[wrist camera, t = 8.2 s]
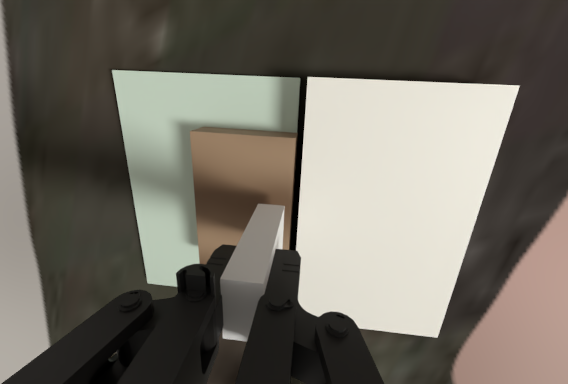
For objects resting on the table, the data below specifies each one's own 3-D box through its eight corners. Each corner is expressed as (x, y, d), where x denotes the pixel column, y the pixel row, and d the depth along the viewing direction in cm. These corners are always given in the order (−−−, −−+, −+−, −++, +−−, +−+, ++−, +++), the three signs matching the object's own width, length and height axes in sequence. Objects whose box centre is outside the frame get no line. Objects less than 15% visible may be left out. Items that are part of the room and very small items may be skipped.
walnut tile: (289, 257, 20) (287, 274, 18) (210, 248, 21) (199, 264, 19) (297, 132, 17) (295, 138, 15) (203, 126, 17) (189, 131, 15)
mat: (287, 294, 22) (287, 299, 21) (151, 279, 23) (147, 283, 22) (300, 78, 16) (300, 77, 16) (117, 70, 17) (111, 69, 17)
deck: (424, 309, 21) (437, 337, 19) (294, 295, 22) (291, 320, 20) (488, 86, 15) (519, 85, 13) (308, 78, 16) (307, 76, 14)
